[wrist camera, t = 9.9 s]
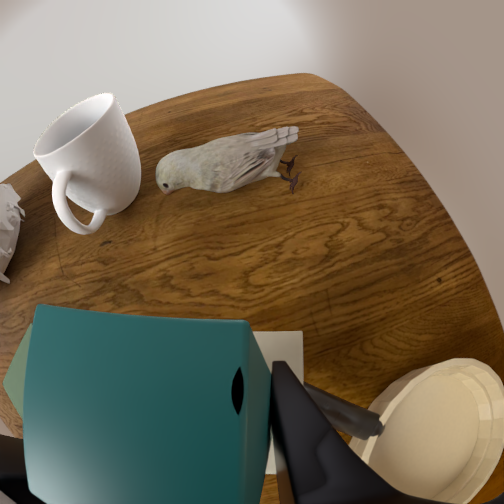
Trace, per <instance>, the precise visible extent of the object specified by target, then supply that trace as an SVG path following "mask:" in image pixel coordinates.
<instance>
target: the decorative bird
mask: <svg viewBox="0 0 504 504" xmlns="http://www.w3.org/2000/svg"><path fill="white" fill-rule="evenodd" d="M298 131H299V128H298V127H295V126H293V127H284V128H280V129H271V130H268V131H265V132H262V133H243V134H238V135H235V136H229V137H223V138H219V139H216V140H213V141H211V142H208V143H206V144H204V145H201V146H198V147H194V148H190V149H183V150H178V151H175V152H172V153H169V154H168V155H166V156H165V157H163V158H162V159H161V160H160V161H159V163H158V165H157V167H156V182H157V184H158V186H159V188H160V189H161V190H162V191H163V193H165V194H166V195H169V194H170V193H172V192H174V191H175V190H177V189H180V188H184V187H192V188H194V189H204V190H208V191H213V192H217V193H227V192H231V191H233V190H235V189H238V188H240V187H242V186H245V185H246V184H249V183H252V182H255V181H259V180H262V179H265V178H266V177H268V176H274V177H281V178H282V179H283V180H286V181H290V183H291V182H292V183H291V185H290V190H291V187H292V194H293V189H294V186H295V185H296V184H297V182H298V175H299V174H300V173H301V172H299V173H298V174H297V175H296V176H295V177H294V178H293V179H289V178H285V177H284V176H283V175H282V174H280V173H279V172H277V171H276V169H277V167H278V164H279V162H281V163H284V164H287V166H288V167H287V173H288V172H289V176H290V171H291V169H292V167H293V165H294V159H295V157H296V156H298V155H296V156H295V157H293V159H292V161H290V162H285V161H282V160H281V157H282V155H283V153H284V151H285V149H286V145H288V144H290V143H293V142H295V141H296V140H297V139H298V136H297V133H298Z"/></svg>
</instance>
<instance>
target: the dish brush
mask: <svg viewBox="0 0 504 504" xmlns="http://www.w3.org/2000/svg"><path fill="white" fill-rule="evenodd" d="M273 361H286V362H287V364H288V365H289V366H290V368H291V369H292V371H293V372H294V374H295V375H296V376H297V378H298V379H299V381H300V382H301V383H302V385H303V332H302V331H283V332H252V329H251V327H250V325H249V322H247V321H245V320H223V319H190V318H170V317H153V316H140V315H128V314H117V313H107V312H97V311H88V310H80V309H73V308H65V307H58V306H51V305H45V304H38V305H37V307H36V311H35V315H34V320H33V325H32V330H31V335H30V341H29V347H28V354H27V361H26V370H25V380H24V394H23V443H24V456H25V466H26V474H27V480H28V486H29V490H30V492H31V493H32V494H34V495H35V496H36V497H38V498H39V499H40V500H42V501H43V502H45V503H46V504H259V502H260V497H261V493H262V488H263V483H264V478H265V474H276V465H275V456H274V447H273V438H272V428H271V372H272V362H273Z"/></svg>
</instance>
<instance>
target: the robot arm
mask: <svg viewBox="0 0 504 504" xmlns="http://www.w3.org/2000/svg"><path fill="white" fill-rule="evenodd" d="M271 428H272V438H273V447H274V456H275V465H276V474H277V483H278V492H279V501H280V504H455V503H448V502H441V501H435V500H430V499H425V498H420V497H416V496H411V495H408V494H405V493H403V492H401V491H399V490H397V489H396V488H394V487H392V486H391V485H390V484H389V483H388V482H386V481H385V480H384V479H383V478H382V477H381V476H380V475H378V474H377V473H376V472H375V471H374V470H373V469H372V468H371V467H370V466H368V465H367V464H366V463H365V462H364V461H363V460H362V459H361V458H360V457H359V456H358V455H357V454H356V453H355V452H354V451H353V450H352V449H351V448H350V447H349V446H348V445H347V443H346V442H345V441H344V440H343V439H342V437H341V436H340V435H339V434H338V432H337V431H336V430H335V428H334V427H332V424H331V423H330V422H329V420H328V419H327V418H326V416H325V415H324V414H323V412H322V411H321V410H320V408H319V407H318V406H317V404H316V403H315V401H314V400H313V399H312V397H311V396H310V395H309V393H308V392H307V390H306V389H305V388H304V386H303V385H302V383H301V382H300V381H299V379H298V378H297V376H296V375H295V374H294V372H293V371H292V369H291V368H290V366H289V365H288V364H287V362H286V361H273V362H272V372H271ZM0 504H46V503H45V502H43V501H42V500H40V499H39V498H38V497H36V496H35V495H34V494H32V493H31V492H30V490H29V486H28V480H27V474H26V466H25V456H24V443H23V439H19V438H14V437H10V436H5V435H1V434H0ZM482 504H504V492H503V493H502V494H500V495H499V496H498V497H496V498H495V499H493V500H491V501H489V502H485V503H482Z"/></svg>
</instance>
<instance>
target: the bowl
mask: <svg viewBox="0 0 504 504" xmlns="http://www.w3.org/2000/svg"><path fill="white" fill-rule="evenodd" d="M20 199H21V198H20V197H19V196H18V195H17V194H16V192H15V191H14V190H13V187H12V186H11V184H0V280H2V281H4V282H6V283H9V284H10V280H9V279H8V278H7V277H6V276H4V275H3V273H4V272H5V270H6V268H7V266H8V264H9V262H10V260H11V258H12V256H13V254H14V252H15V247H16V243H17V238H18V234H19V230H20V221H21V220H22V219H21V218H20V213H21V214H22V215H23V216H24V217H25V212H24V210H23V209H21V208H20V207H19V206H18V204H17V202H18V201H19V200H20ZM19 210H20V213H19ZM22 221H23V220H22ZM24 222H25V221H24Z"/></svg>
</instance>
